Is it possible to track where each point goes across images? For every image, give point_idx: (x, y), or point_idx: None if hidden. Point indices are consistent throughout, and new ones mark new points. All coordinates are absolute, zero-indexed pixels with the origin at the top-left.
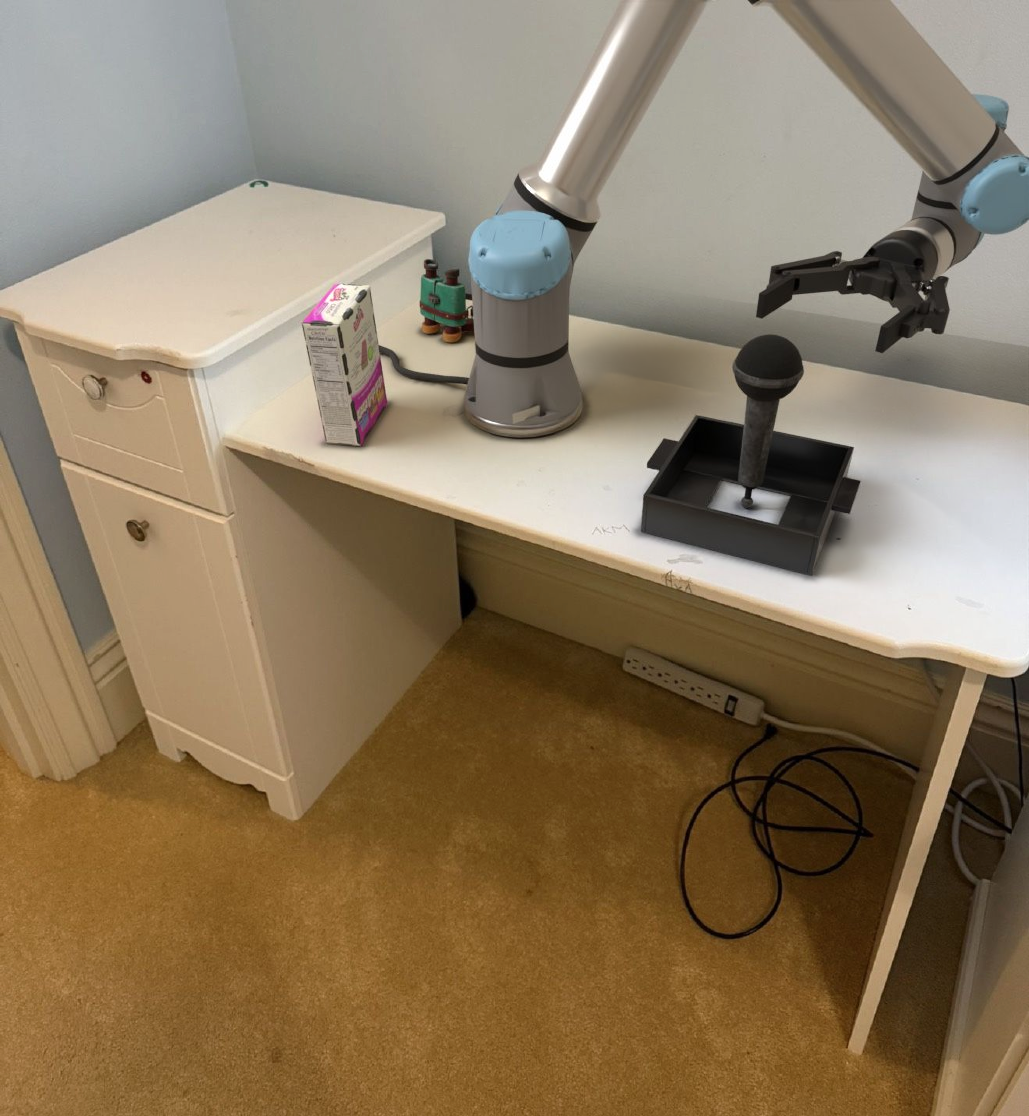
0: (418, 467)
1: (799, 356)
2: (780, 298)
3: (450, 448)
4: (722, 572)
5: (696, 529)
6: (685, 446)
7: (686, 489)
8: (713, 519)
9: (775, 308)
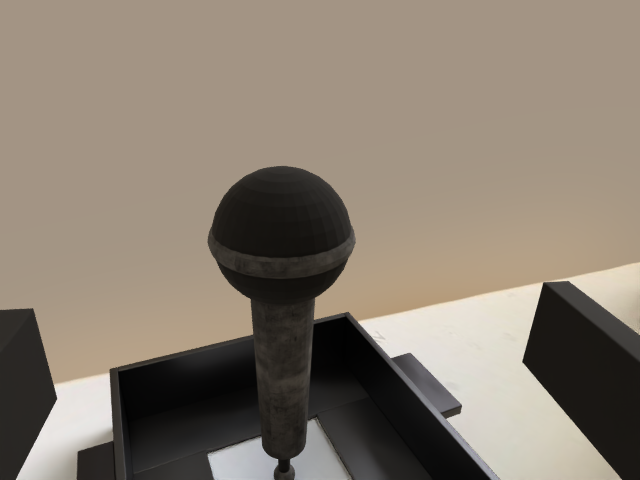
0: None
1: (223, 211)
2: (627, 433)
3: None
4: None
5: None
6: (441, 445)
7: (381, 444)
8: None
9: (591, 433)
